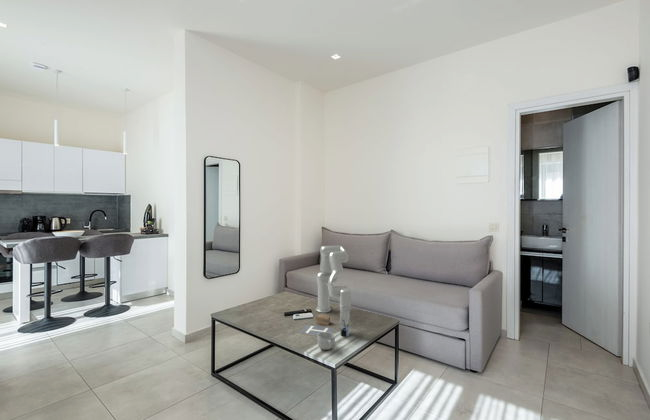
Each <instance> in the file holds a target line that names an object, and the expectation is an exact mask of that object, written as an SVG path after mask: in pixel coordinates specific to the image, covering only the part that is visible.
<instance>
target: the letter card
mask: <svg viewBox="0 0 650 420" xmlns="http://www.w3.org/2000/svg"><path fill="white" fill-rule="evenodd" d="M334 330H335V328H334V327H325V326H318V325H311V324H306V325H305V326H304V327H303V328H302V329H301V330H300V331H299V333H301V334H306V335H312V336H313V335H315V336H318V334H319V333H321V332H330V333H333V332H334Z"/></svg>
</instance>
